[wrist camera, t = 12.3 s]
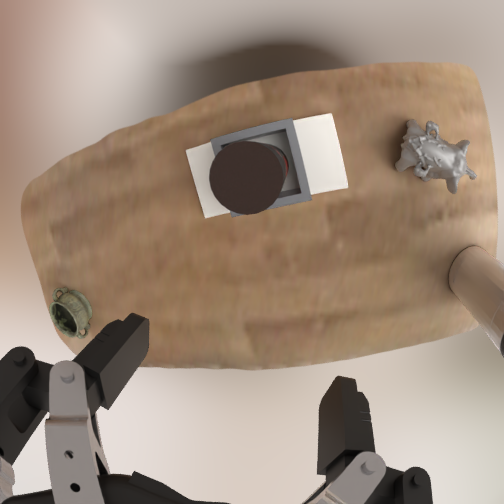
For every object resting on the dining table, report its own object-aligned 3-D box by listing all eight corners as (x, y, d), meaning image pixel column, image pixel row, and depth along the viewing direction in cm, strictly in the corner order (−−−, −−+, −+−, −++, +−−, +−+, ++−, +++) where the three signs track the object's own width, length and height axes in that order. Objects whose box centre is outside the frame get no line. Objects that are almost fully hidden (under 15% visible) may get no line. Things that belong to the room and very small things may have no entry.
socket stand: (330, 114, 32) (336, 107, 27) (347, 186, 35) (356, 193, 30) (188, 150, 37) (170, 151, 31) (207, 216, 40) (193, 228, 34)
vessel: (57, 287, 51) (39, 300, 46) (75, 276, 49) (56, 289, 43) (84, 331, 55) (69, 346, 49) (105, 324, 52) (89, 341, 46)
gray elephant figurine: (391, 118, 31) (408, 113, 24) (462, 127, 29) (489, 127, 22) (393, 183, 35) (410, 193, 28) (462, 188, 32) (488, 199, 25)
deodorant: (256, 135, 34) (229, 127, 20) (296, 157, 34) (297, 164, 20) (235, 174, 36) (197, 192, 22) (274, 196, 37) (260, 227, 23)
